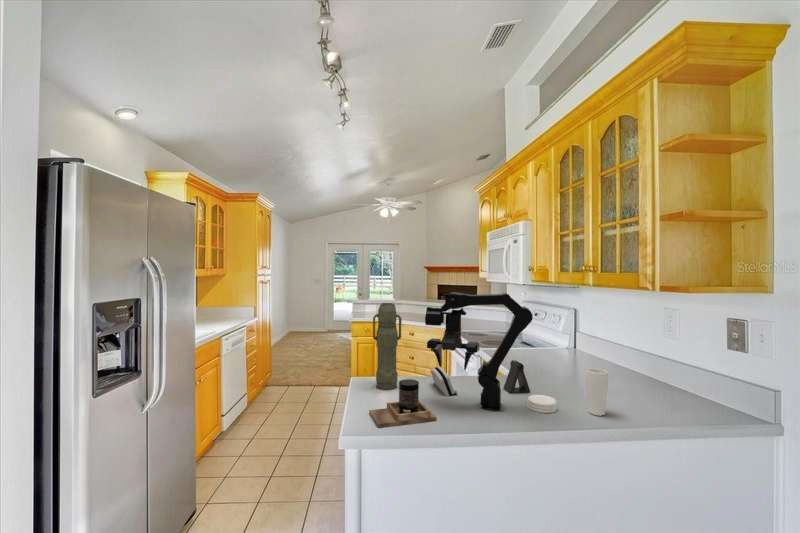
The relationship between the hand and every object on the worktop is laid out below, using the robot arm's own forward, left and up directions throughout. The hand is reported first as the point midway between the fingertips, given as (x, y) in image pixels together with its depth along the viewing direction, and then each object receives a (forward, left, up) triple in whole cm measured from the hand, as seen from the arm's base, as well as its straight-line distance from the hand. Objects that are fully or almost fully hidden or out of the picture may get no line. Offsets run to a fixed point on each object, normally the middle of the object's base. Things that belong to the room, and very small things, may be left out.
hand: (452, 368), depth 144 cm
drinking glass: (-49, -10, -13) cm, 52 cm away
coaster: (-31, -8, -14) cm, 35 cm away
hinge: (+8, -14, -13) cm, 21 cm away
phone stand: (-21, -24, -13) cm, 35 cm away
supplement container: (+11, +18, -12) cm, 24 cm away
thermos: (+30, -8, -13) cm, 34 cm away
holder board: (+13, +19, -13) cm, 26 cm away
